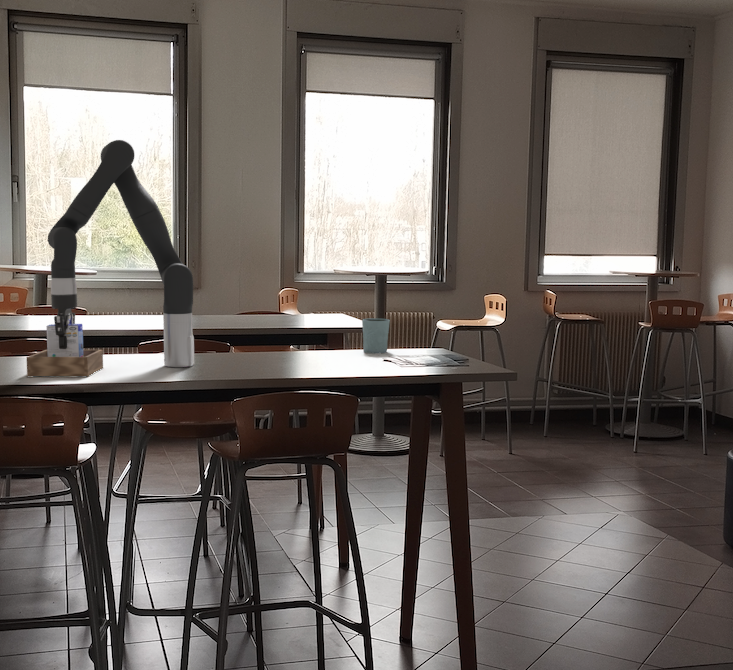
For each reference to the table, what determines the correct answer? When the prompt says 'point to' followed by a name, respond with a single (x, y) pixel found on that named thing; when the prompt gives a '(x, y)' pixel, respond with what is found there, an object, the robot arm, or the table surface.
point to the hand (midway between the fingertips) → (65, 347)
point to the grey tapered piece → (375, 335)
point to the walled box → (64, 364)
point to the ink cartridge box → (73, 341)
